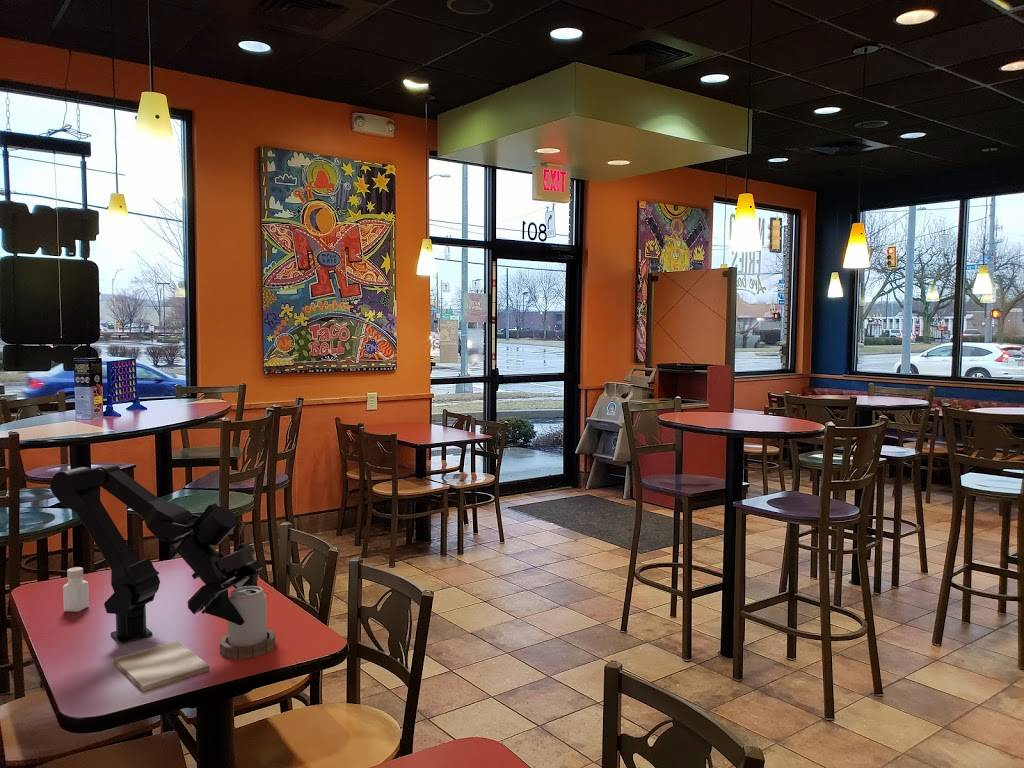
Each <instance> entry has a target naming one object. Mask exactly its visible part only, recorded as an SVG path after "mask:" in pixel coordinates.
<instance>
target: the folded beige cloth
mask: <svg viewBox="0 0 1024 768" xmlns="http://www.w3.org/2000/svg"><path fill="white" fill-rule="evenodd" d="M113 663H114V665H115V666H116V667H117V668H118V669H119V670H120V671H121V672H122V673H123V674H124V675H125V676H126V677H127V678H128V679H129V680H130V681H131V682H132V683H133V684H134V685H135V686H136V687H138V689H140V691H142V692H145V691H147V692H148V691H149V690H153V689H156V688H159V687H161V686H165V685H168V684H172V683H175V682H178V681H181V680H185V679H187V678H190V677H193V676H197V675H200V674H203V673H206V672H209V671H210V665H209V664H208V663H207V662H206V661H204V660H203V659H201V658H200V657H199V656H198V655H196V654H195V653H194V652H192V651H191V650H190V649H188V648H187V647H186V646H185V645H183V644H182V643H181V642H179V641H178V640H175V641H172V642H168V643H165V644H161V645H157V646H153V647H150V648H146V649H143V650H139V651H136V652H132V653H129V654H125V655H121V656H118V657H114V658H113Z"/></svg>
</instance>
